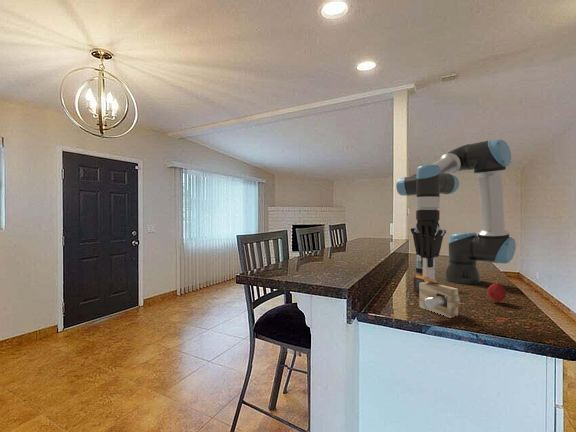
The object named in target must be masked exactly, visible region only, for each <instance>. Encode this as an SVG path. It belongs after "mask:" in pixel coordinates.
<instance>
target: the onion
mask: <svg viewBox="0 0 576 432" xmlns="http://www.w3.org/2000/svg"><path fill="white" fill-rule="evenodd" d="M486 291H487V292H486V294H487V295H486V296H488V298H489V299H490V300H491V301H493V303H496V304H499V303H500V302H502V301H503V300H505V299H506V296H507V292H506V291H507V290H506V289H505V288H504V286H502V285H501V284H500V283H499V282H498V281H494V282H493V283H492V284H491V285H489V287H488V288H487V290H486Z"/></svg>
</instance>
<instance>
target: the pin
mask: <svg viewBox="0 0 576 432" xmlns="http://www.w3.org/2000/svg"><path fill="white" fill-rule="evenodd" d="M460 303H461V297H460V295H459V294H458V305H459V304H460ZM422 304H423V306H424V307H425V308H427V309H428V308H432V307H436V306H441V305H445V304H447V296H446V295H441V296H437V297H432V298H427V299H424V300H423V301H422Z"/></svg>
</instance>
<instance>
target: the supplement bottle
mask: <svg viewBox="0 0 576 432" xmlns="http://www.w3.org/2000/svg"><path fill="white" fill-rule="evenodd" d="M416 275H420V276H423V267H417V266H415V271H414V272H413V273H412V276H413V278H412V280H413V281H412V282H413V283H412V284H413V285H412V287H413V288H412V289H413V291H412V292H413V295H415V296H418V297H419V283H421V282H426V280H423V279H420V278H416ZM427 278H429V277H427ZM427 282H428V281H427Z"/></svg>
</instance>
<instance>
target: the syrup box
mask: <svg viewBox="0 0 576 432" xmlns="http://www.w3.org/2000/svg"><path fill="white" fill-rule="evenodd" d="M416 267H423V266H421V256H419V255H417V254H416ZM435 276H436V257H434V258H433V267H432V275H431V276H430V277H429V278H430V279H434V280H436V277H435Z"/></svg>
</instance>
